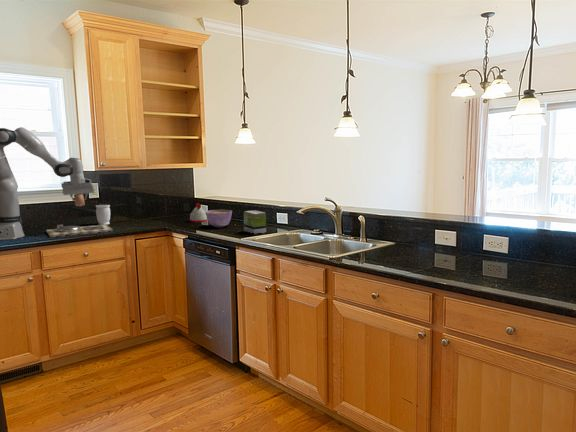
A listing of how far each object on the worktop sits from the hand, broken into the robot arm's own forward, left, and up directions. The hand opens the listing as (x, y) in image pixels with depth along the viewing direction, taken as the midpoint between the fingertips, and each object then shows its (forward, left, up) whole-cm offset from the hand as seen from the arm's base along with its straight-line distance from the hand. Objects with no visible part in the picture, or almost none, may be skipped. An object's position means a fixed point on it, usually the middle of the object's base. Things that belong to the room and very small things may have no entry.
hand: (79, 200), depth 311 cm
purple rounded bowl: (+91, -36, -23) cm, 100 cm away
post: (-8, +1, -21) cm, 23 cm away
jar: (+20, +25, -23) cm, 39 cm away
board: (-1, 0, -22) cm, 22 cm away
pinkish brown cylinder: (0, -1, -4) cm, 4 cm away
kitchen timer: (+88, -2, -23) cm, 91 cm away
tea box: (+102, -72, -23) cm, 127 cm away
